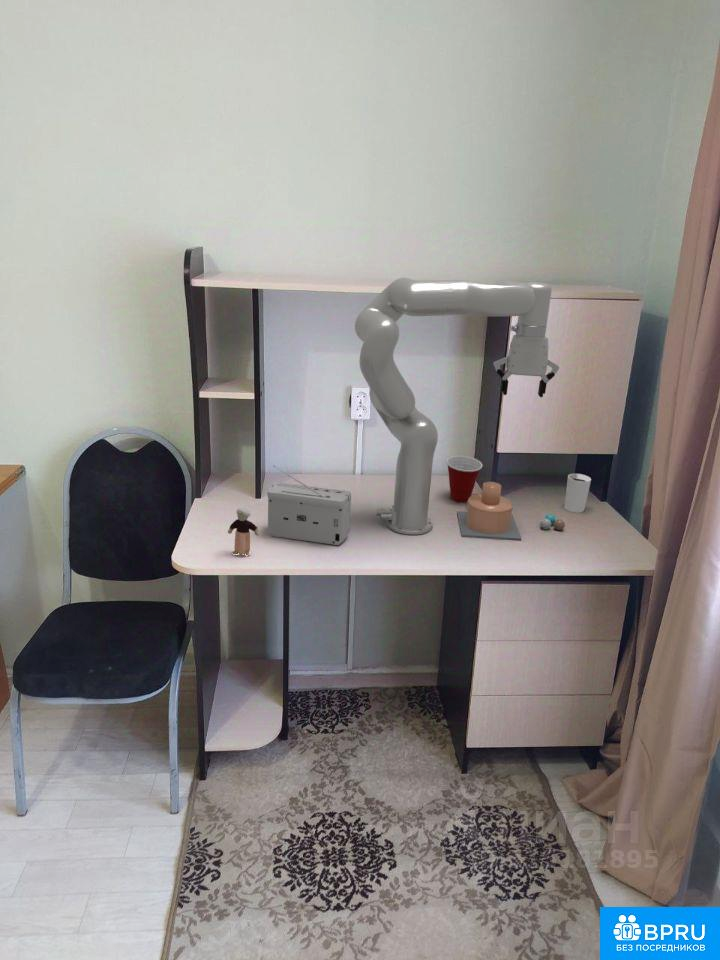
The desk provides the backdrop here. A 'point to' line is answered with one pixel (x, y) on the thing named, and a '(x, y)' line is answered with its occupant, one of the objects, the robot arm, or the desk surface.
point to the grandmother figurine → (242, 531)
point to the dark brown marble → (559, 524)
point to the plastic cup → (462, 476)
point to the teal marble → (551, 518)
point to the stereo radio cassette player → (308, 512)
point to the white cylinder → (577, 492)
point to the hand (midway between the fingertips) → (522, 394)
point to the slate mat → (468, 532)
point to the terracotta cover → (489, 510)
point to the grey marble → (545, 523)
